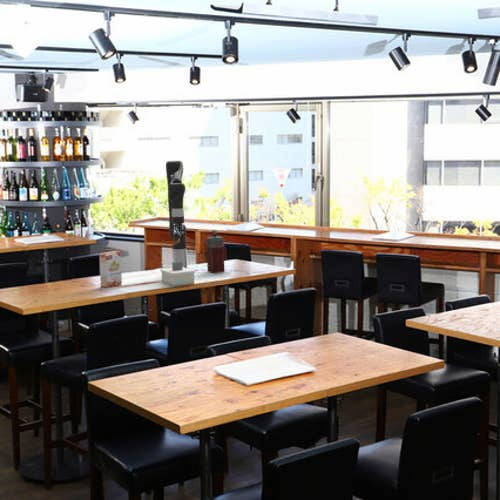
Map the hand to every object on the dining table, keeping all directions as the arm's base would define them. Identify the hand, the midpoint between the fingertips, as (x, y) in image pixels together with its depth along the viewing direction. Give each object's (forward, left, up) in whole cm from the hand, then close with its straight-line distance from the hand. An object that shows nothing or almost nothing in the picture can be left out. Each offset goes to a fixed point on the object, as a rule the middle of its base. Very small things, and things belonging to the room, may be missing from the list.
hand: (179, 241), depth 526 cm
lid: (-1, -1, -19) cm, 19 cm away
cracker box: (-19, -38, -26) cm, 50 cm away
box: (-1, -1, -26) cm, 26 cm away
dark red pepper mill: (-26, +39, -26) cm, 53 cm away
